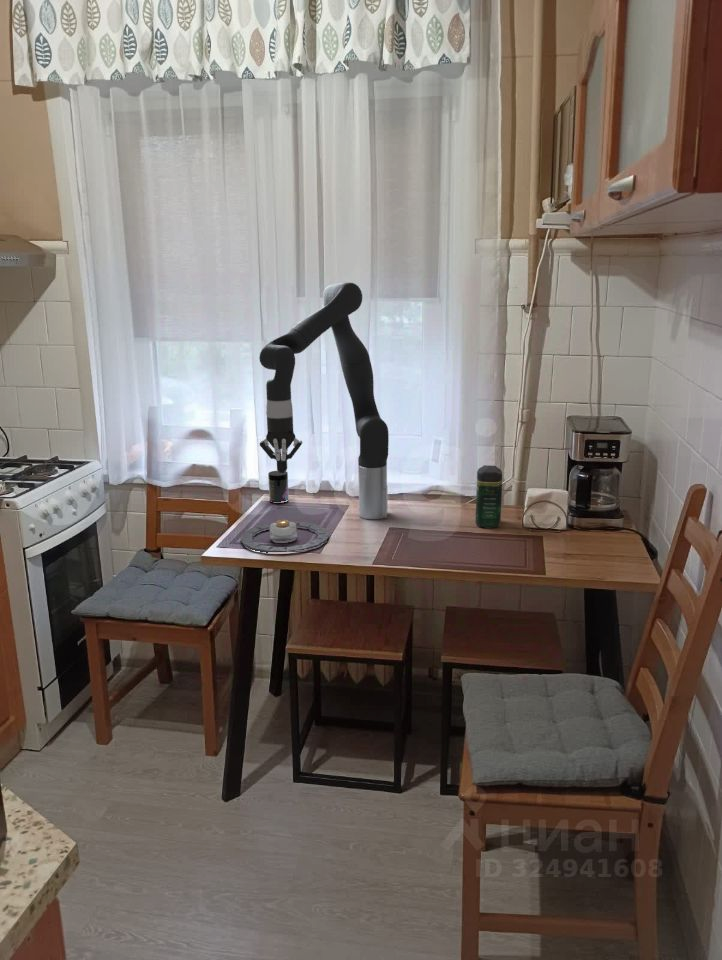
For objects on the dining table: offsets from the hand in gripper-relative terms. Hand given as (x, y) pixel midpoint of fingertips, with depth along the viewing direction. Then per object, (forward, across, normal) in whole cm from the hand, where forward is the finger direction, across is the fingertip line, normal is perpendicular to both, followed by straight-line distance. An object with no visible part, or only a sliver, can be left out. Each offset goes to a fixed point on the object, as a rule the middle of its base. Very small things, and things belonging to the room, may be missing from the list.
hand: (282, 472), depth 233 cm
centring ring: (+21, 0, 0) cm, 21 cm away
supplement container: (+21, +9, -38) cm, 44 cm away
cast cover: (+21, 0, 0) cm, 21 cm away
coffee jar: (+21, -62, -17) cm, 68 cm away
